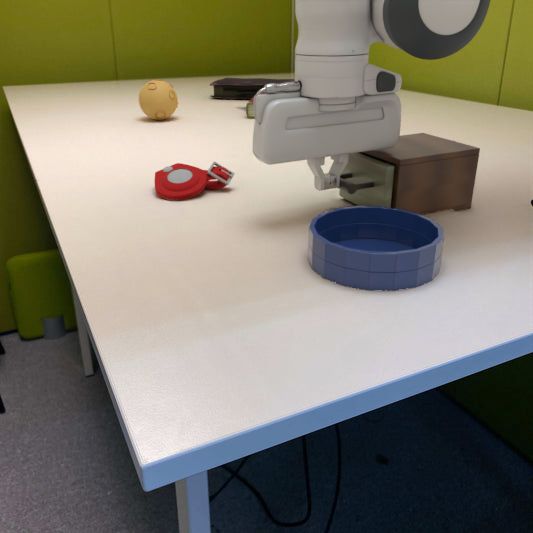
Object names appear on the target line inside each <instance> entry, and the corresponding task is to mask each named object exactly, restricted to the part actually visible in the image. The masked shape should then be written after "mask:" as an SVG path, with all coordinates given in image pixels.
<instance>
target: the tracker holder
mask: <svg viewBox="0 0 533 533" xmlns="http://www.w3.org/2000/svg"><path fill="white" fill-rule="evenodd" d="M234 176H235V172H233V171H231V170H230V169H228V168H227V167H225V166H224V165H222V164H220V163H218V162H217V161H212V163H211V164H210V167H209V168H208V169H202V168H200V167H197V166H194V165H190V164H186V163H179V162H177V163H174V164H172V165H169V166H168V165H167V166H165V167H164V168H162V169H160V170H157V171H155V172H154V189H155V193H156V194H157V196H158V197H160V198H162V199H164V200H167V201H184V200H189V199H191V198H194V197H196V196H197V195H199V194H200V193H201V192H203V191H204V188H205V190H218V189H219V190H220V189H223V188H225V187H227V186H229V185H230V183H231V181H232V179H233V177H234Z"/></svg>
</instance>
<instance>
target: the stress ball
mask: <svg viewBox="0 0 533 533" xmlns="http://www.w3.org/2000/svg"><path fill="white" fill-rule="evenodd" d="M178 100H179V99H178V94H177V92H176V90H175V89H174V86H173V85H172V84H171V83H169V82H167V81H164V80H163V79H159V78H155V79H152V80H150V81H147V82H146V83H145V84H143V86H142V87H141V88H140V91H139V93H138V105H139V108H140V109H141V111H142V112H143V114H144V115H145V116H147V117H148V118H149V119H153V120H156V121H161V120H166V119H169V118H170V117H171V116H172V115H173V114H174V113H175V112H176V110H177V108H178V106H179V101H178Z"/></svg>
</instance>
